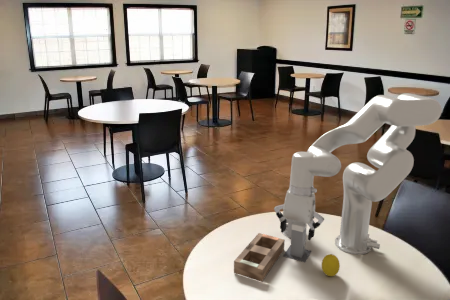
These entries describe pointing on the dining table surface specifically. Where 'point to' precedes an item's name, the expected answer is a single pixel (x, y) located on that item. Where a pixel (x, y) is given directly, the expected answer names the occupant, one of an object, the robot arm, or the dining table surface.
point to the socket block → (259, 257)
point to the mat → (303, 259)
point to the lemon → (330, 265)
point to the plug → (298, 239)
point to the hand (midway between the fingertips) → (296, 234)
